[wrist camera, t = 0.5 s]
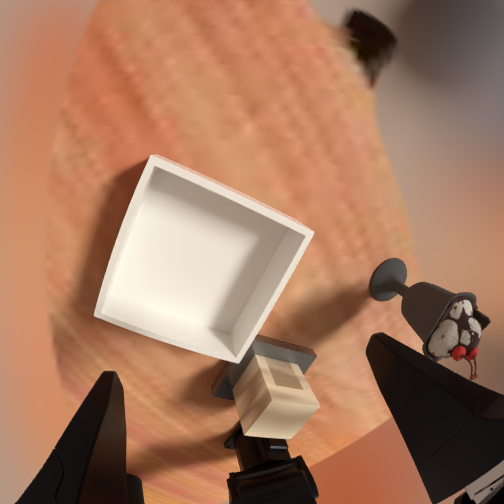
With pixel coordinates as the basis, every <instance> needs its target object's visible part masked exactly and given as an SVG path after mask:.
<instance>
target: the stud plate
mask: <svg viewBox="0 0 504 504" xmlns="http://www.w3.org/2000/svg"><path fill="white" fill-rule="evenodd" d="M255 354H256V355H259V356H263V357H267V358H271V359H276V360H280V361H284V362H288V363H293V364H297V365H298V366H299V368H300V370H301V371H302V373H303V375H304V374H305V372H306V371H307V370H308V368H309V367H310V366H311V364H312V363H313V361H314V360H315V359H316V357H317V356H316V354H315V352H314V351H313V349H309V348H305V347H301V346H297V345H294V344H290V343H286V342H283V341H279V340H276V339H272V338H269V337H265V336H262V335H258V334H257V335H256V337H255V338H254V340H253V342H252V343H251V345H250V347H249V348H248V350H247V351H246V353H245V355H244V356H243V358H242V360H241V361H240V363H239V364H238V363H234V362H230V361H227V363H226V365H225V366H224V368H223V370H222V371H221V373H220V375H219V376H218V378H217V380H216V381H215V383H214V385H213V386H212V394H213V396H215V397H220V398H225V399H230V400H235V399H234V394H233V390H232V389H233V388H234V386H235V385H236V383H237V382H238V380H239V379H240V377H241V376H242V374H243V372H244V371H245V369H246V368H247V366H248V365H249V363H250V362H251V360H252V358H253V357H254V355H255Z"/></svg>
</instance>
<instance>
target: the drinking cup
mask: <svg viewBox="0 0 504 504" xmlns="http://www.w3.org/2000/svg"><path fill="white" fill-rule="evenodd" d="M126 481H127V504H145V503H144V496H143V489H142V481H141V479H139V478H138V477H136V476H134V475H130V474H126Z"/></svg>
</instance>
